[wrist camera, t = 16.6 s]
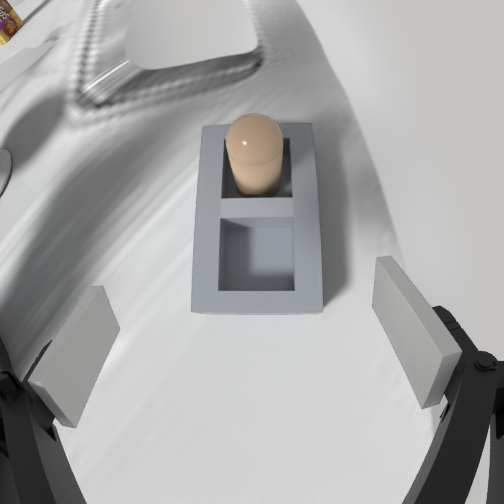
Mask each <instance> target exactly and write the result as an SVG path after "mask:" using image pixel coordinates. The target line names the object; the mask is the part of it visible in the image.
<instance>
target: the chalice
mask: <svg viewBox="0 0 504 504" xmlns="http://www.w3.org/2000/svg"><path fill="white" fill-rule="evenodd" d="M10 170H11V155H10V153H9V151H8V150H6V149H0V195H1V193H2V191H3V189H4V187H5V185H6V183H7V180H8V177H9V174H10Z"/></svg>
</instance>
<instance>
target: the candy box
mask: <svg viewBox="0 0 504 504" xmlns="http://www.w3.org/2000/svg"><path fill="white" fill-rule="evenodd" d="M22 24H23V21H22V20H21V19H20V17H19V16H18V15H17V13H16V12H15V11H14V9H13V8H12V7H11V6H10V4H9V3H8V2H7V0H0V44H4V43H7V42H8V41H9V39H10V38H11V37H12V36H13V35H14V33H15V32H16V31H17V30H18V29H19V28H20V27H21V26H22Z"/></svg>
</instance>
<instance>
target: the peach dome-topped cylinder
mask: <svg viewBox="0 0 504 504" xmlns="http://www.w3.org/2000/svg"><path fill="white" fill-rule="evenodd" d="M226 148H227V152H228V156H229V160H230V164H231V168H232V172H233V176H234V180H235V184H236V188H237V190H238V192H239V194H240V195H241V196H242V197H243V198H273V197H274V196H275V195H276V194H277V193H278V191H279V189H280V185H281V171H282V155H283V135H282V132H281V130H280V128H279V126H278V125H277V124H276V122H275V121H273V120H272V119H271V118H269V117H267V116H265V115H262V114H255V113H253V114H247V115H244V116H241V117H240V118H238V119H237V120H235V121H234V122H233V123H232V125H231V126H230V127H229V129H228V132H227V135H226Z"/></svg>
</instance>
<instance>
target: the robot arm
mask: <svg viewBox="0 0 504 504" xmlns="http://www.w3.org/2000/svg"><path fill="white" fill-rule="evenodd" d="M372 307H373V309H374V311H375V313H376V315H377V317H378V319H379V321H380V323H381V325H382V327H383V329H384V331H385V333H386V335H387V336H388V338H389V340H390V342H391V344H392V347H393V349H394V351H395V353H396V355H397V357H398V359H399V361H400V363H401V365H402V367H403V369H404V371H405V373H406V376H407V378H408V380H409V382H410V384H411V386H412V389H413V391H414V393H415V395H416V397H417V400H418V402H419V404H420V406H421V409H424V408H428V407H431V406H434V405H437V404H439V403H440V401H441V399H442V397H443V395H444V394H445V396H446V398H447V400H448V403H447V405H446V407H445V409H444V411H443V412H442V414H441V416H440V418H441V420H440V423H439V426H438V428H437V431H436V433H435V436H434V438H433V441H432V443H431V446H430V448H429V450H428V453H427V455H426V457H425V459H424V461H423V464H422V466H421V468H420V470H419V472H418V474H417V476H416V478H415V480H414V482H413V484H412V486H411V488H410V490H409V492H408V494H407V495H406V497H405V499H404V501H403V503H402V504H465V501H466V499H467V496H468V494H469V491H470V488H471V486H472V483H473V480H474V477H475V474H476V471H477V468H478V465H479V462H480V459H481V455H482V452H483V448H484V445H485V441H486V437H487V433H488V429H489V425H490V467H489V481H488V492H487V501H486V504H504V361H497V359H496V358H495V357H494V356H493V355H492V354H490V353H488V352H485V351H478V349H477V348H476V346H475V345H474V344H473V342H472V341H471V339H470V338H469V337H468V335H467V334H466V333H465V331H464V330H463V329H462V328H461V326H460V325H459V323H458V322H456V319H455V318H454V317H453V315H452V314H451V313H450V312H449V311H448V310H446V309H445V308H443V307H441V306H436V307H431V306H430V305H429V304H428V302H427V301H426V299H425V298H424V297H423V295H422V294H421V293H420V292H419V290H418V289H417V288H416V286H415V285H414V284H413V283H412V281H411V280H410V279H409V277H408V276H407V275H406V274H405V272H404V271H403V270H402V269H401V267H400V266H399V265H398V264H397V262H396V261H395V260H394V259H393V258H392V256H384V257H376V267H375V279H374V290H373V300H372ZM119 331H120V327H119V325H118V322H117V320H116V317H115V315H114V313H113V310H112V308H111V305H110V303H109V300H108V297H107V295H106V292H105V289H104V287H103V286H91V287H90V288H89V290H88V291H87V292H86V294H85V295H84V296H83V298H82V299H81V300H80V302H79V303H78V305H77V306H76V307H75V309H74V310H73V312H72V313H71V314H70V316H69V317H68V319H67V320H66V322H65V323H64V325H63V326H62V327H61V329H60V330H59V332H58V333H57V335H56V336H55V338H54V339H53V340H51V341H50V342H49V343H48V344H47V345H46V346H44V347H43V349H42V350H41V352H40V354H39V357H37V358H36V360H35V361H34V362H35V363H33V364H32V366H31V368H30V369H29V371H28V372H27V374H26V376H25V377H24V379H23V381H22V382H20V380H19V379H18V378H17V376H16V375H15V373H14V372H13V370H11V365H10V362H9V358H8V355H7V352H6V350H5V347H4V345H3V343H2V341H1V339H0V504H87V503H86V501H85V499H84V497H83V495H82V493H81V490H80V488H79V486H78V484H77V481H76V479H75V477H74V474H73V472H72V470H71V467H70V465H69V462H68V460H67V457H66V454H65V452H64V449H63V446H62V444H61V441H60V438H59V435H58V432H57V429H56V427H55V425H54V424H53V420H54V418H56V419H57V420H58V421H59V422H60V424H61V425H62V426H66V427H71V428H76V427H77V425H78V422H79V420H80V417H81V415H82V413H83V410H84V408H85V405H86V403H87V401H88V398H89V396H90V394H91V391H92V389H93V387H94V385H95V382H96V380H97V378H98V376H99V373H100V371H101V369H102V367H103V365H104V362H105V360H106V358H107V356H108V354H109V352H110V350H111V348H112V345H113V343H114V341H115V339H116V337H117V335H118V333H119Z"/></svg>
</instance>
